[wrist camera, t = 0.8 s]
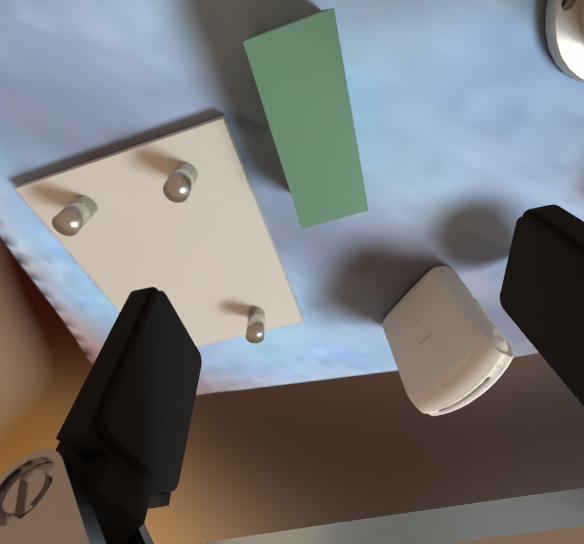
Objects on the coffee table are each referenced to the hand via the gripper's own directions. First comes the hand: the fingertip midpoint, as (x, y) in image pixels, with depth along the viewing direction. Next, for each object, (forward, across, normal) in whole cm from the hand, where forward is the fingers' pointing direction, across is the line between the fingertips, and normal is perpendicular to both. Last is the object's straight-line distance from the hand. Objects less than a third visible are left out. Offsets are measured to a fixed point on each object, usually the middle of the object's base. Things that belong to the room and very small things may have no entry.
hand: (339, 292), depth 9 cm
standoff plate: (+21, +13, +10) cm, 27 cm away
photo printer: (+21, -10, +21) cm, 31 cm away
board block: (+21, -1, 0) cm, 21 cm away
